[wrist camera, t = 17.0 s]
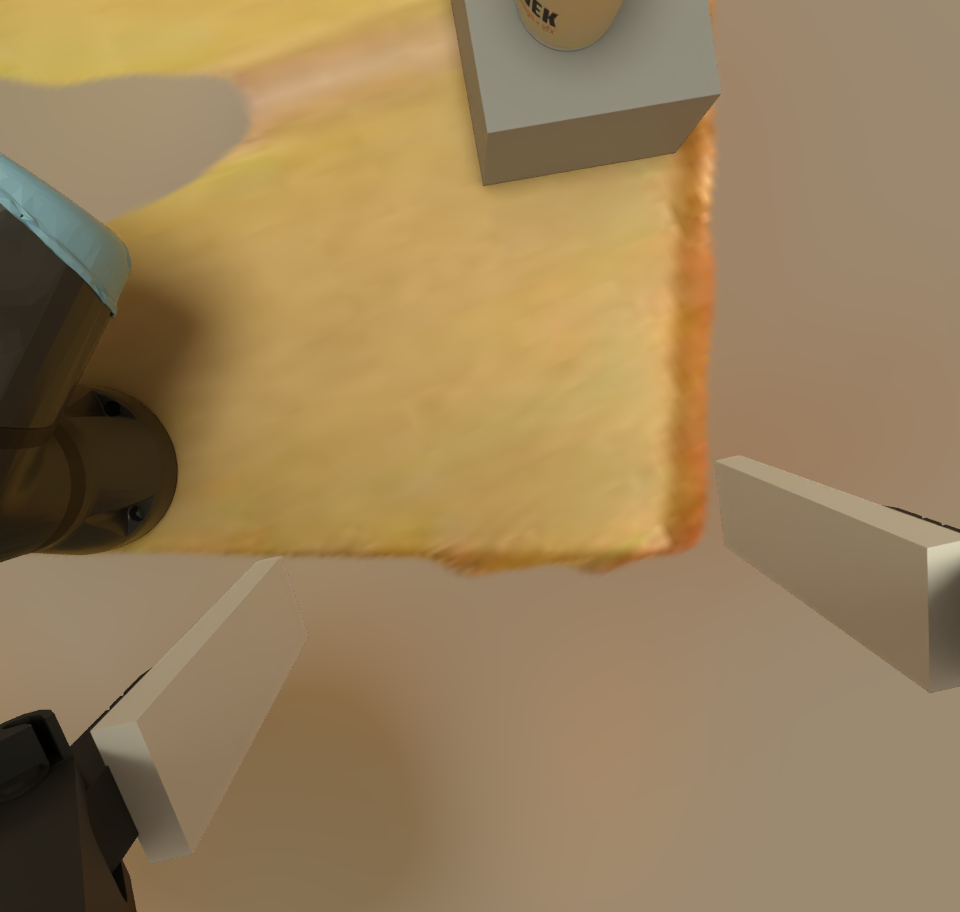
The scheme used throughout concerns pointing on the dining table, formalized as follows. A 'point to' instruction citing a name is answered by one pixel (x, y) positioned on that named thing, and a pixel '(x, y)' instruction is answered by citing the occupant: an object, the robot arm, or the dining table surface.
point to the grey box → (584, 87)
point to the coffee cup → (567, 21)
